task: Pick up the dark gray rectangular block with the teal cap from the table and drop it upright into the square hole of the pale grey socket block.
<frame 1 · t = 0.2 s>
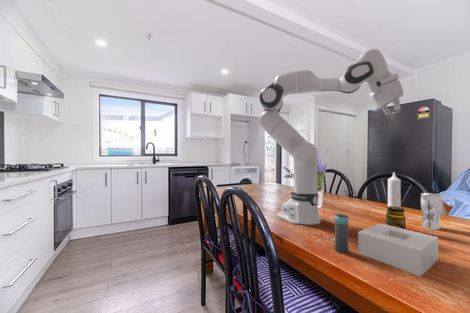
hand: (393, 112, 91), 52 cm above the table, tool tilted 20°, fingers open, 8 cm apart
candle: (394, 228, 91), on the table
socket block: (396, 256, 66), on the table
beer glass: (431, 228, 91), on the table
dark gray rectangular block: (341, 250, 70), on the table
condiment: (392, 237, 81), on the table
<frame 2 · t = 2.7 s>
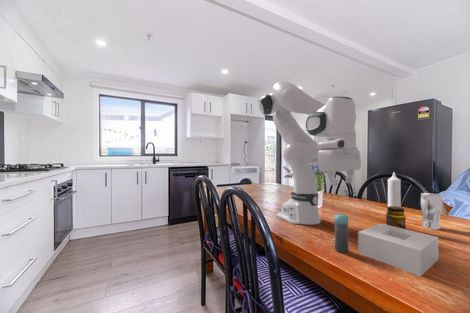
hand: (341, 184, 70), 23 cm above the table, tool pointing down, fingers open, 8 cm apart
nothing on the table moved.
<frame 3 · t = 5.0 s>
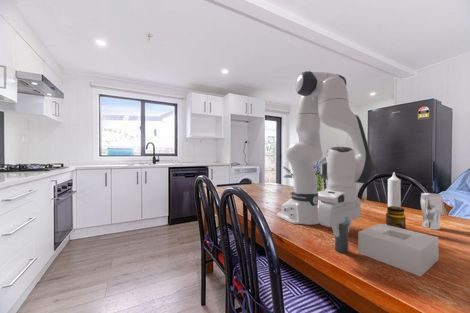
hand: (341, 234, 70), 6 cm above the table, tool pointing down, fingers closed on dark gray rectangular block, 4 cm apart
dark gray rectangular block: (341, 250, 70), on the table, touching gripper
everything else where it was.
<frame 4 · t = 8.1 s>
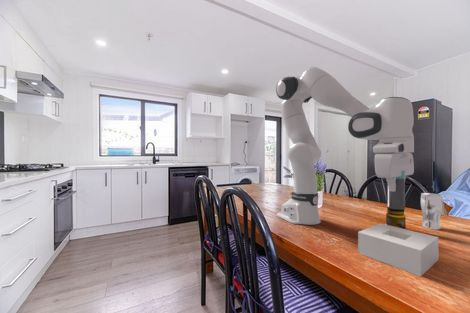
hand: (396, 190, 66), 21 cm above the table, tool pointing down, fingers closed on dark gray rectangular block, 4 cm apart
dark gray rectangular block: (396, 207, 65), point 16 cm above the table, touching gripper
everything else where it was.
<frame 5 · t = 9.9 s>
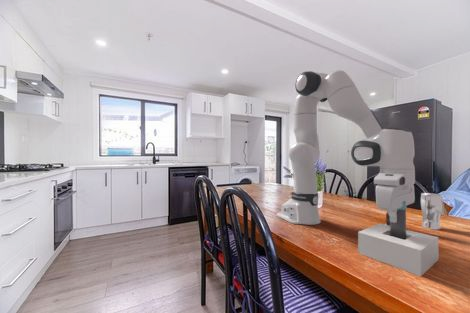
hand: (397, 220, 66), 12 cm above the table, tool pointing down, fingers closed on dark gray rectangular block, 4 cm apart
dark gray rectangular block: (398, 237, 65), point 6 cm above the table, touching gripper
everything else where it was.
when the fingers open (9 cm above the table, at t = 11.2 s): dark gray rectangular block drops 2 cm, resting on socket block.
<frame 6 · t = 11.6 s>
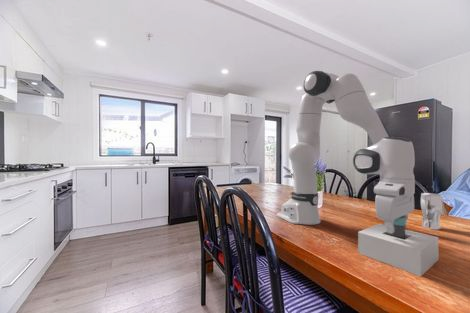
hand: (396, 229, 66), 9 cm above the table, tool pointing down, fingers open, 8 cm apart
dark gray rectangular block: (397, 253, 66), point 1 cm above the table, touching socket block
everything else where it was.
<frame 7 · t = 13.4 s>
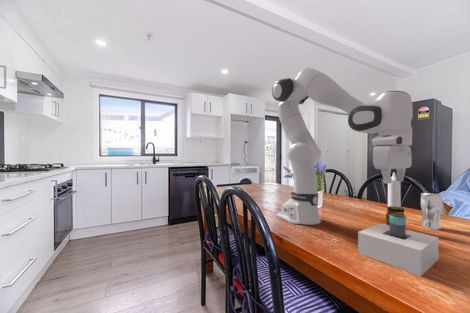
hand: (393, 182, 67), 24 cm above the table, tool pointing down, fingers open, 8 cm apart
nothing on the table moved.
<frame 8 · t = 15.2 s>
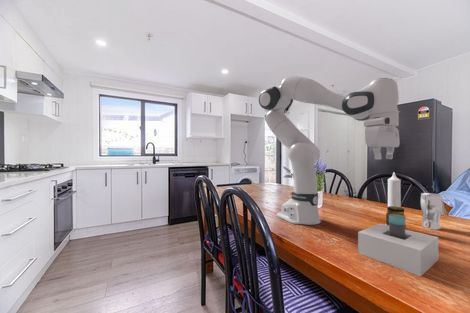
hand: (383, 159, 76), 31 cm above the table, tool pointing down, fingers open, 8 cm apart
nothing on the table moved.
at the end: dark gray rectangular block 0.2 cm off-centre on the socket block, point 1.0 cm above the socket block's base; dark gray rectangular block tilted 1°; the gripper is holding nothing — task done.
